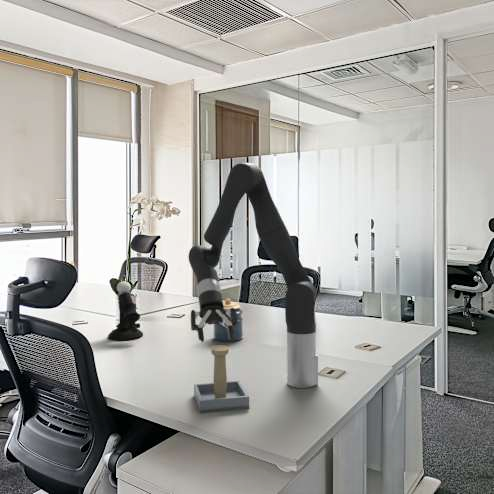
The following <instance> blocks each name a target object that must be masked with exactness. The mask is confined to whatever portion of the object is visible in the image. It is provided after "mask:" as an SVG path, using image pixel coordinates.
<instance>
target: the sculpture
mask: <svg viewBox="0 0 494 494" xmlns="http://www.w3.org/2000/svg"><path fill="white" fill-rule="evenodd" d="M131 289H132V285H131V284H130V283H129V282H128V281H126V280H125V281H124V280H123V281H120V282H118V284H117V285H116V291H117V292H118V293H117V294H118V295H117V303H118V310H119V323H118V324H117V325H116V326H115V327H116V328H115V329H113V330H112V331H110V333H108V336H107V338H108V340H110V341H115V342H125V341H135V340H137V339H141V338H143V336H144V332H142V331H141V330H140V329H139V328H140V327H141V323H139V322H138V321H139V320H140V318H141V315H140V313H139V312H137V304H136V303H134V302H133V299H132V292H131ZM136 322H138V323H136Z"/></svg>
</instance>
